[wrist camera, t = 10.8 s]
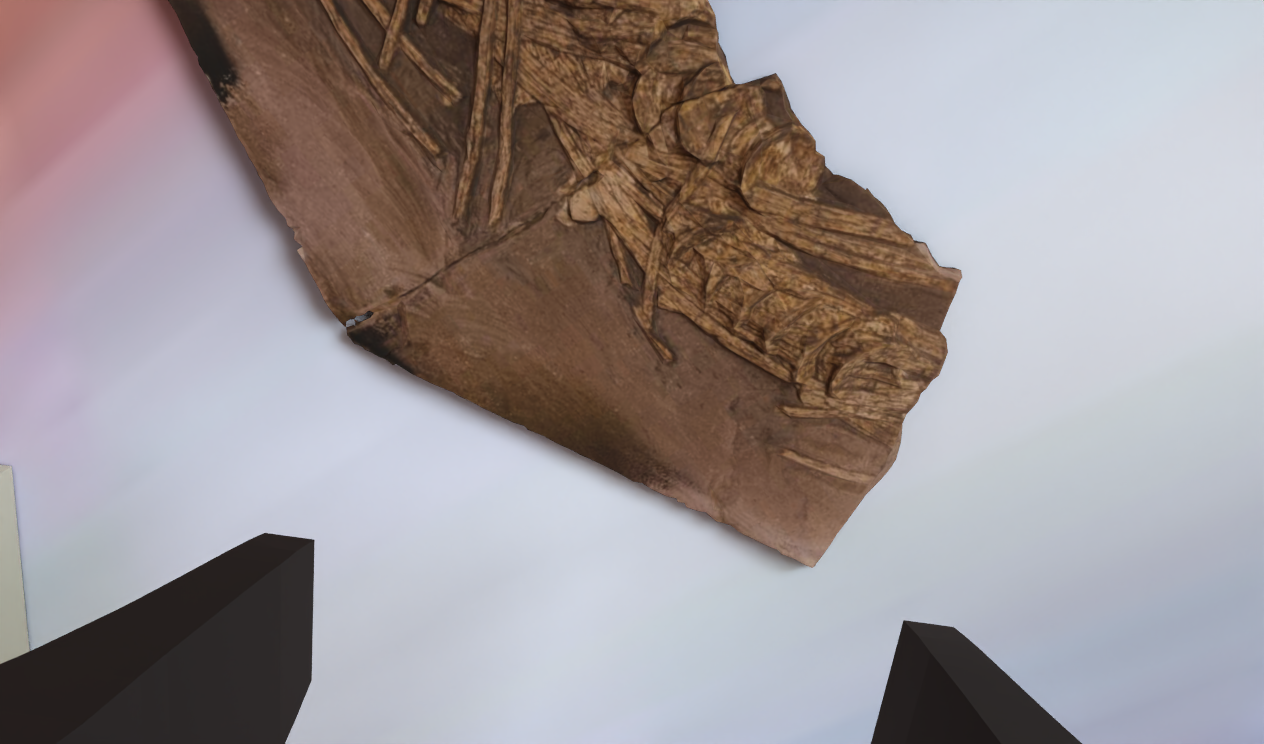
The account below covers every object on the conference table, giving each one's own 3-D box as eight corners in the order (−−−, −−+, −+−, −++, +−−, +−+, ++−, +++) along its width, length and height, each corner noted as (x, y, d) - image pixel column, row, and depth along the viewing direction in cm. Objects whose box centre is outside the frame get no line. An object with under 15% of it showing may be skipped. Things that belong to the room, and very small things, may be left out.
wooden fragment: (1046, 417, 21) (1066, 436, 20) (637, 660, 23) (635, 688, 22) (223, -868, 14) (189, -936, 13) (-213, -351, 17) (-269, -376, 16)
